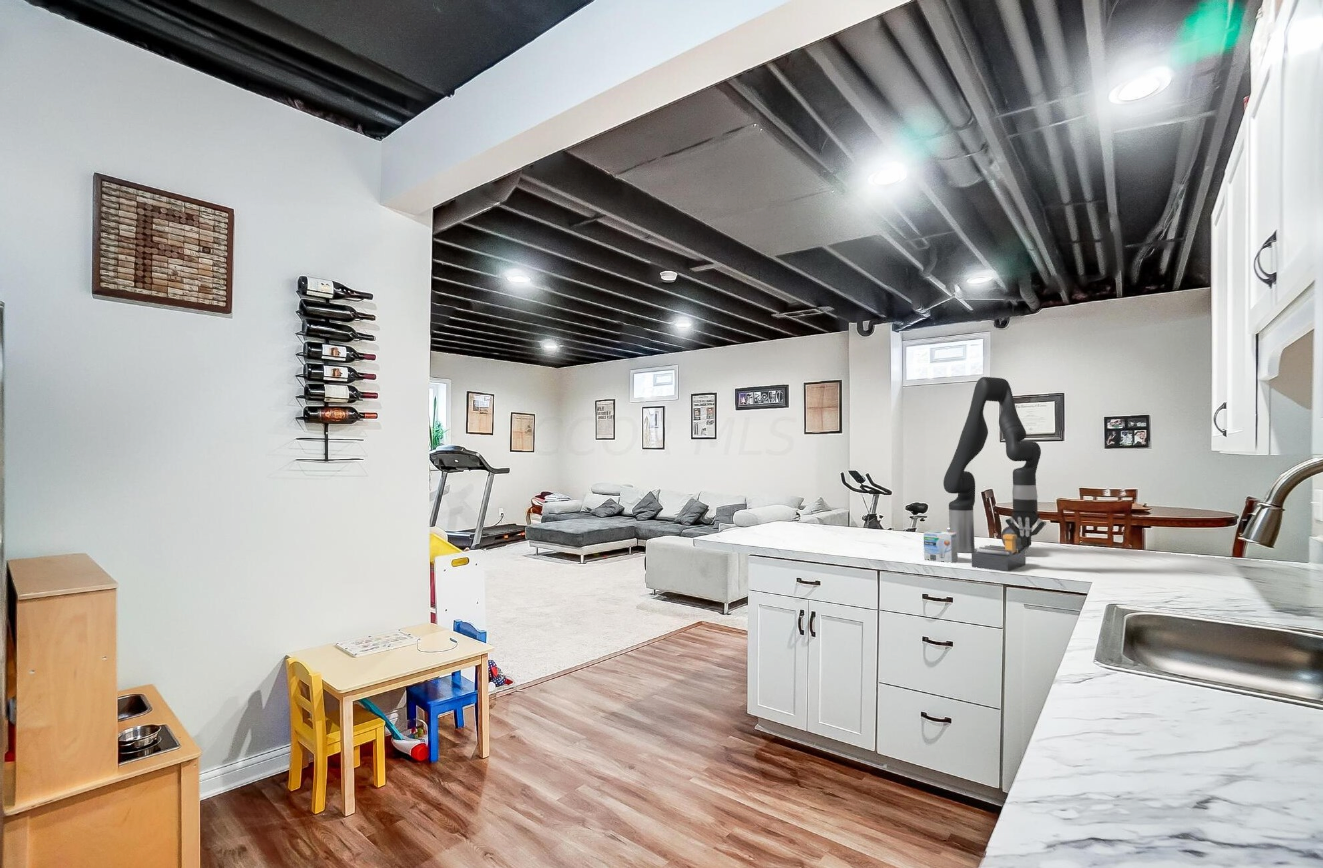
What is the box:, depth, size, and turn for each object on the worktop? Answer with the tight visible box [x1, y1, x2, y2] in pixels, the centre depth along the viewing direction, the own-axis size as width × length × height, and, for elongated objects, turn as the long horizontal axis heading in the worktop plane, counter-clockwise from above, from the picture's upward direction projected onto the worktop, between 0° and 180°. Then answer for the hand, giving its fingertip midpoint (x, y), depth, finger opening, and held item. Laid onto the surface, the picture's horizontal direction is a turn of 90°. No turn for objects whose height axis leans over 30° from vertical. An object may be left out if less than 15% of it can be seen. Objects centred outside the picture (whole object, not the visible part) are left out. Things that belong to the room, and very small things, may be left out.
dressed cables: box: [976, 544, 1021, 556], centre depth 222 cm, size 11×12×1 cm
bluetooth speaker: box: [1000, 525, 1029, 552], centre depth 250 cm, size 23×9×10 cm, turn 154°
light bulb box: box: [923, 530, 959, 564], centre depth 235 cm, size 11×7×11 cm, turn 47°
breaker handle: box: [1003, 534, 1017, 553], centre depth 219 cm, size 3×4×6 cm
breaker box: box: [970, 545, 1027, 572], centre depth 222 cm, size 12×17×6 cm
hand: (1026, 546), depth 215 cm, fingers closed
